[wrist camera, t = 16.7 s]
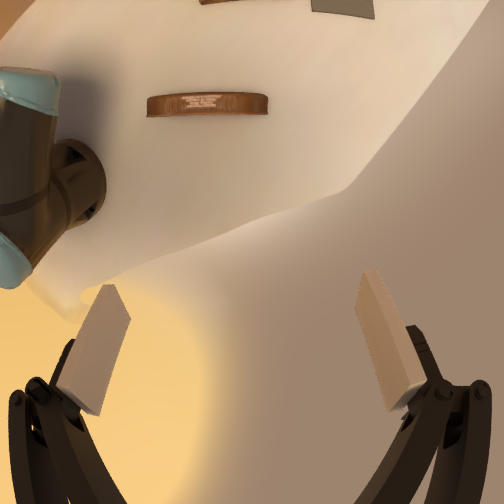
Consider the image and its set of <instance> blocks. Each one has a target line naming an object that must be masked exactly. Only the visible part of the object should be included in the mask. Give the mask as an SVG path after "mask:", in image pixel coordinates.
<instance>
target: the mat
mask: <svg viewBox="0 0 504 504" xmlns="http://www.w3.org/2000/svg"><path fill="white" fill-rule="evenodd" d="M311 6H312V12H324V13H334V14H342V15H350V16H356V17H362V18H368V19H373V20H374V19H375V16H374V7H373V0H311Z"/></svg>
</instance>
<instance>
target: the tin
mask: <svg viewBox="0 0 504 504" xmlns="http://www.w3.org/2000/svg"><path fill="white" fill-rule="evenodd" d="M267 109H268V97H267V96H265V95H264V94H259V93H245V92H196V93H181V94H170V95H161V96H154V97H150V98H148V99H147V116H146V117H163V116H179V115H203V114H247V115H266V114H268V112H267Z"/></svg>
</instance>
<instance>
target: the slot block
mask: <svg viewBox="0 0 504 504" xmlns="http://www.w3.org/2000/svg"><path fill="white" fill-rule="evenodd" d="M227 1H237V0H199V2H200V3H201V5H204V4H211V3H218V2H227Z"/></svg>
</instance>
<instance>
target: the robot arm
mask: <svg viewBox="0 0 504 504" xmlns="http://www.w3.org/2000/svg"><path fill="white" fill-rule="evenodd" d="M61 88H62V83H61V80H60V78H59V76H58V75H56V74H55V73H52V72H49V71H44V70H38V69H31V68H20V67H0V287H1V288H4V289H14V288H16V287H18V286H19V285H20V284H21V283H22V282H23V281H24V280H25V279H26V278H27V277H28V276H29V275H31V274H32V272H33V269H34V268H35V267H36V266H37V264H38V263H39V262H40V260H41V259H42V258H43V257H44V255H45V254H46V253H47V252H48V251H49V249H50V248H51V247H52V246H53V245H54V243H55V242H56V241H57V240H58V239H59V238H60V237H61V235H62V234H63V233H64V232H65V231H67V230H69V229H71V228H74V227H76V226H79V225H81V224H84V223H85V222H87V221H88V220H90V219H91V218H92V217H93V216H94V215H95V214H96V213H97V212H98V210H99V209H100V208H101V206H102V204H103V201H104V198H105V194H106V179H105V174H104V170H103V168H102V165H101V163H100V161H99V159H98V158H97V156H96V155H95V154H94V152H93V151H92V150H91V149H90V148H89V147H87V146H86V145H85V144H83V143H81V142H79V141H76V140H71V139H66V140H61V141H58V142H56V143H54V144H53V142H54V135H55V128H56V122H57V116H59V110H58V108H59V100H60V94H61ZM355 311H356V314H357V317H358V320H359V322H360V325H361V328H362V331H363V334H364V337H365V340H366V343H367V346H368V349H369V352H370V356H371V359H372V362H373V365H374V368H375V372H376V375H377V378H378V382H379V385H380V389H381V392H382V395H383V400H384V403H385V407H386V410H387V413H391V412H395V411H399V410H402V409H403V408H404V407H405V406H406V405H408V409H409V411H408V412H407V413H406V414H405V415H404V416H403V417H402V419H401V420H403V419H404V421H403V423H402V425H401V427H400V429H399V431H398V433H397V435H396V437H395V439H394V440H393V442H392V444H391V446H390V448H389V450H388V452H387V454H386V455H385V457H384V459H383V460H382V462H381V464H380V466H379V467H378V469H377V470H376V472H375V473H374V475H373V477H372V478H371V480H370V481H369V483H368V484H367V486H366V487H365V489H364V490H363V492H362V493H361V495H360V496H359V497H358V499H357V500H356V501H355V503H354V504H409V503H410V502H411V500H412V498H413V496H414V495H415V493H416V491H417V489H418V487H419V485H420V484H421V482H422V480H423V478H424V475H425V474H426V472H427V470H428V467H429V465H430V463H431V461H432V459H433V456H434V454H435V452H436V450H437V447H438V450H437V456H436V460H435V465H434V469H433V474H432V477H431V481H430V485H429V489H428V492H427V496H426V499H425V502H424V504H480V500H481V496H482V491H483V487H484V482H485V476H486V470H487V464H488V456H489V447H490V435H491V417H492V415H491V414H492V393H491V388H490V386H489V385H488V383H486V382H485V381H483V380H476V381H475V382H473V383H472V384H471V385H470V386H453V385H452V384H451V383H450V382H449V381H447V380H444V379H443V378H442V375H441V373H440V371H439V368H438V366H437V364H436V361H435V359H434V357H433V354H432V352H431V351H430V348H429V346H428V344H427V343H426V339H425V337H424V335H423V333H422V332H421V331H420V330H419V329H418V328H417V327H416V326H415V325H412V326H407V327H405V326H404V323H403V321H402V319H401V317H400V315H399V313H398V311H397V309H396V307H395V304H394V303H393V300H392V298H391V297H390V294H389V292H388V290H387V288H386V286H385V285H384V283H383V281H382V279H381V277H380V275H379V273H378V271H377V269H376V270H364V271H363V274H362V278H361V283H360V288H359V292H358V296H357V300H356V304H355ZM130 320H131V318H130V316H129V314H128V312H127V310H126V308H125V306H124V304H123V302H122V300H121V298H120V296H119V294H118V291H117V289H116V287H115V285H114V284H113V285H103V286H102V288H101V290H100V291H99V293H98V295H97V297H96V299H95V301H94V303H93V305H92V307H91V309H90V310H89V312H88V314H87V316H86V318H85V320H84V322H83V325H82V327H81V329H80V331H79V333H78V335H77V337H76V339H71V340H70V341H69V342H68V343H67V345H66V346H65V348H64V350H63V352H62V356H61V357H60V359H59V362H58V364H57V366H56V368H55V371H54V373H53V375H52V378H51V380H50V383H49V385H48V384H47V383H46V382H45V381H44V380H43V379H41V378H40V377H34V378H32V379H30V380H29V381H28V383H27V384H26V387H25V393H24V392H23V391H22V390H15V391H14V392H13V393H12V394H11V396H10V398H9V415H8V419H9V420H8V429H9V431H8V432H9V452H10V464H11V473H12V481H13V487H14V492H15V498H16V503H17V504H69V502H68V499H69V501H70V503H71V504H127V503H126V501H125V500H124V498H123V496H122V495H121V493H120V492H119V490H118V488H117V486H116V485H115V483H114V481H113V480H112V478H111V476H110V474H109V472H108V471H107V469H106V467H105V465H104V463H103V461H102V459H101V457H100V455H99V453H98V451H97V449H96V447H95V445H94V443H93V440H92V438H91V436H90V434H89V431H88V429H87V426H86V424H85V421H84V419H83V417H82V415H81V414H80V410H81V409H82V410H83V411H85V412H86V413H87V414H91V415H95V416H99V415H100V412H101V408H102V404H103V401H104V397H105V394H106V391H107V387H108V384H109V381H110V378H111V375H112V371H113V368H114V365H115V362H116V359H117V356H118V353H119V350H120V347H121V345H122V342H123V339H124V336H125V333H126V331H127V328H128V325H129V323H130ZM32 425H33V427H34V428H33V430H32ZM67 497H68V498H67Z"/></svg>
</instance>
